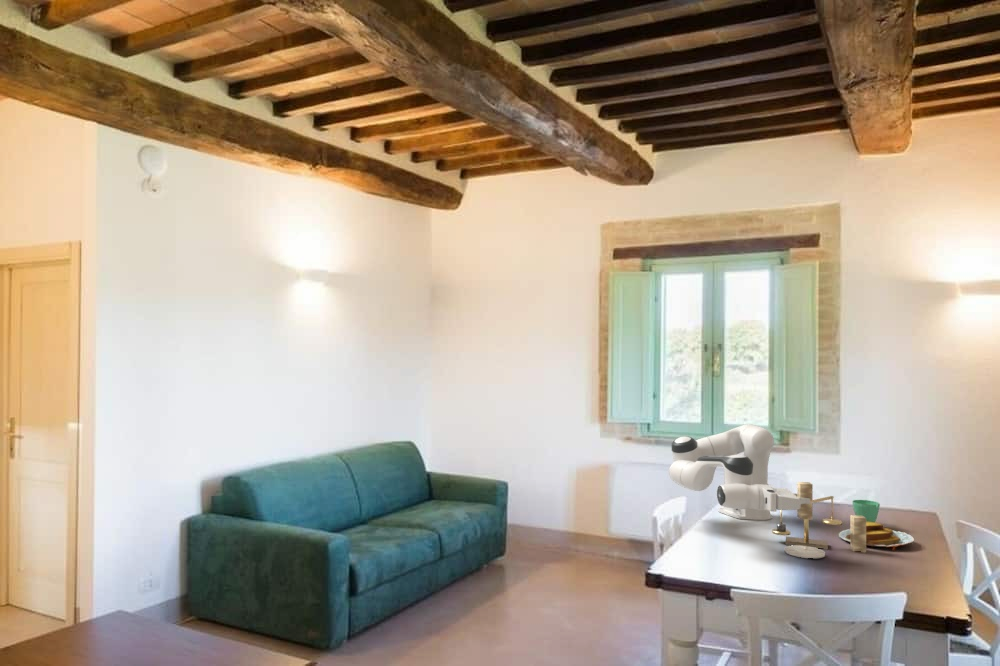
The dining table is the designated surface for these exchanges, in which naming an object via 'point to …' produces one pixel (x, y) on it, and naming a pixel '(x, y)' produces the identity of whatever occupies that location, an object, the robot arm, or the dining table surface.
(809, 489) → the column
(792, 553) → the dish
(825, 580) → the dining table surface
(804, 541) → the balance
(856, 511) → the mug
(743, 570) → the dining table surface
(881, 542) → the food on plate
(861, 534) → the column
